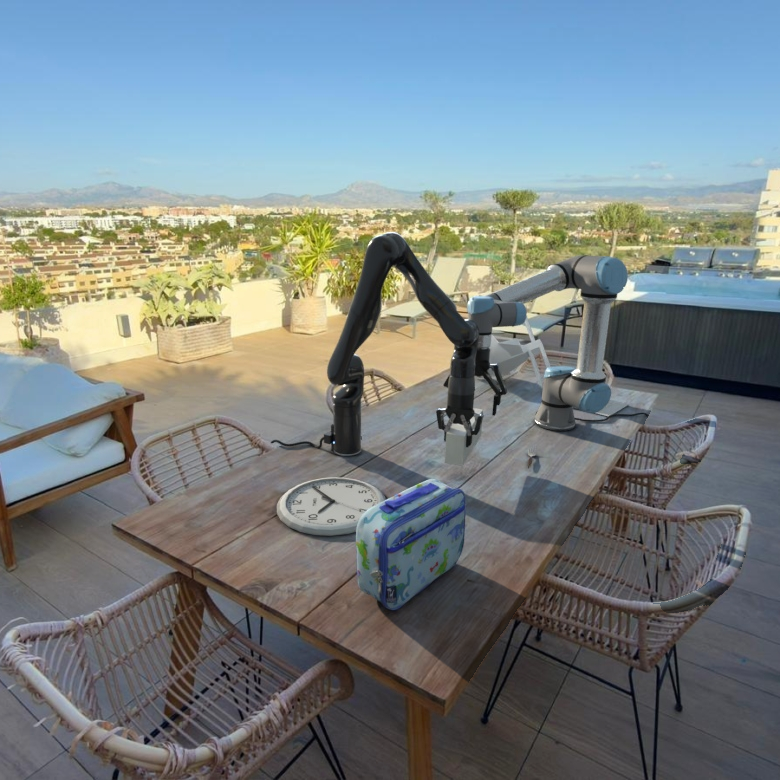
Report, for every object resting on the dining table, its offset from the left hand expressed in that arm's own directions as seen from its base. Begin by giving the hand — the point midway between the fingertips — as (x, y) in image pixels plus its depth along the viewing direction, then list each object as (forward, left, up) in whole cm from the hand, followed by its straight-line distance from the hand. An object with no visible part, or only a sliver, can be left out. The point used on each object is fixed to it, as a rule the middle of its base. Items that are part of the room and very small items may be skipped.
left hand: (457, 444), depth 154 cm
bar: (-1, +9, -5) cm, 10 cm away
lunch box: (+11, -48, -12) cm, 51 cm away
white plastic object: (-19, +107, -12) cm, 109 cm away
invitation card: (+25, +98, -12) cm, 102 cm away
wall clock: (-22, -32, -12) cm, 41 cm away
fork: (+15, +27, -12) cm, 33 cm away
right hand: (-3, +18, +5) cm, 19 cm away
